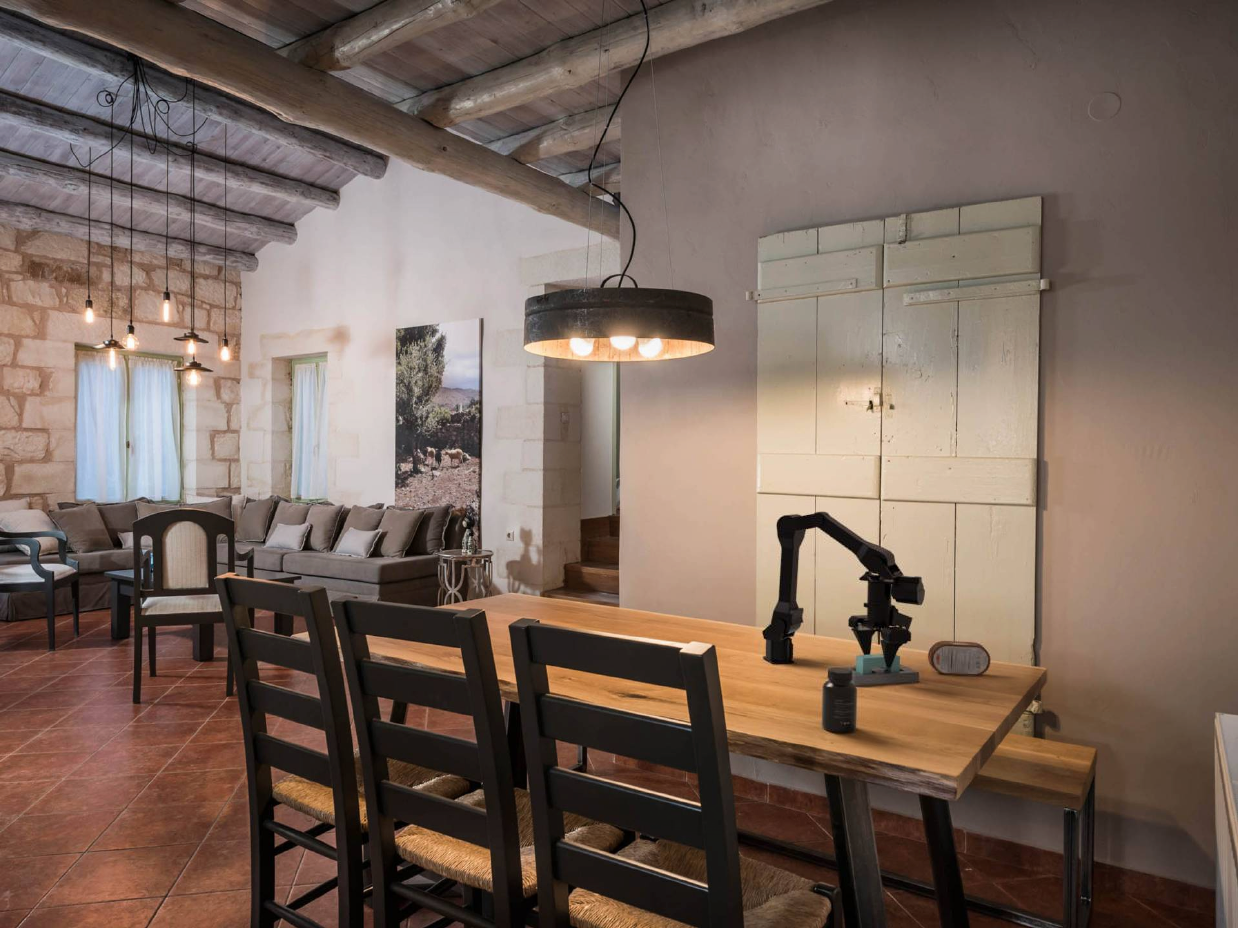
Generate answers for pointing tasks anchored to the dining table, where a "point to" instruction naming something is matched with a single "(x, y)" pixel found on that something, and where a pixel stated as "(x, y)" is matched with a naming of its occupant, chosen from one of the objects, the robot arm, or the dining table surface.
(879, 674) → the plate with rectangular holes
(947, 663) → the tin
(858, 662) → the teal u-shaped block
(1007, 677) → the dining table surface
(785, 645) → the robot arm
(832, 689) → the supplement bottle
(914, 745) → the dining table surface
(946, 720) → the dining table surface
